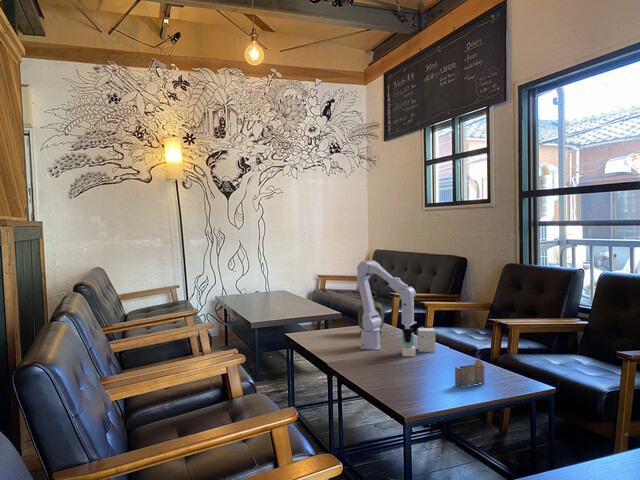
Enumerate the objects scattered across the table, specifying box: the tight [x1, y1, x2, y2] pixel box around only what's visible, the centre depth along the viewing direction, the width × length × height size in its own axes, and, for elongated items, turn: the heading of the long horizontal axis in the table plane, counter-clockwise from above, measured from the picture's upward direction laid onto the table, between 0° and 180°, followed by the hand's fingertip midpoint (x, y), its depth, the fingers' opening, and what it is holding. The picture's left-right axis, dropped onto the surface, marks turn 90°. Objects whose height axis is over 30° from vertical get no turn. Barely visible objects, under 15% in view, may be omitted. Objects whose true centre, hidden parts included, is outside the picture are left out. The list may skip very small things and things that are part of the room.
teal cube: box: [401, 332, 414, 346], centre depth 217 cm, size 5×5×5 cm
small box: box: [417, 327, 437, 353], centre depth 224 cm, size 8×6×10 cm
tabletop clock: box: [357, 290, 385, 334], centre depth 257 cm, size 14×9×25 cm, turn 85°
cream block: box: [401, 344, 417, 357], centre depth 217 cm, size 6×6×4 cm
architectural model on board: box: [454, 358, 485, 388], centre depth 175 cm, size 11×3×10 cm, turn 108°
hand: (407, 340), depth 217 cm, fingers closed on teal cube, 5 cm apart
